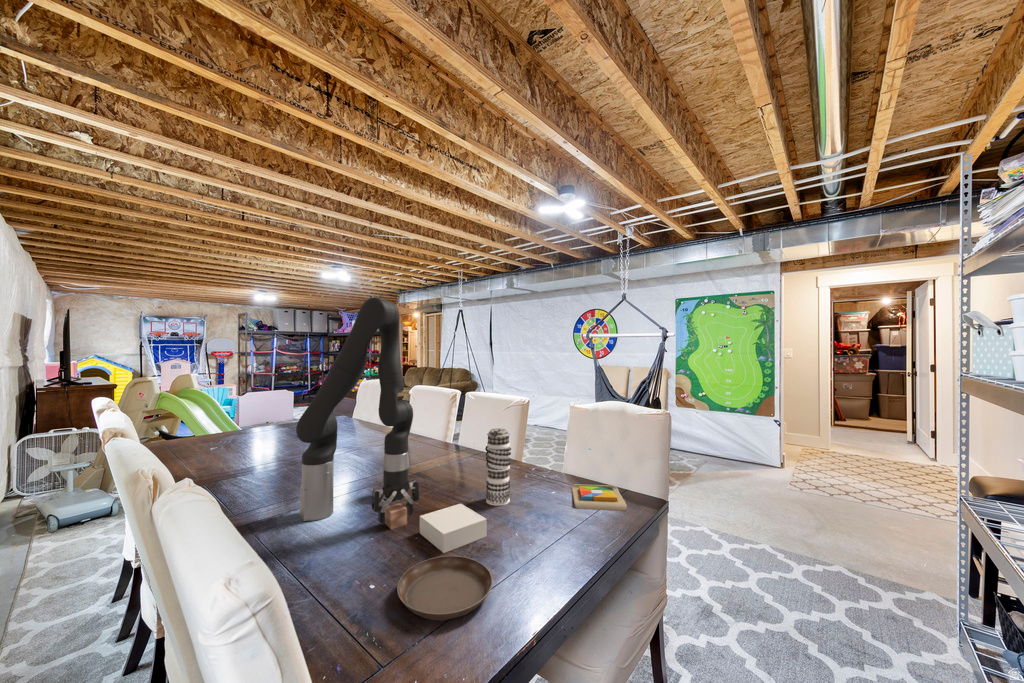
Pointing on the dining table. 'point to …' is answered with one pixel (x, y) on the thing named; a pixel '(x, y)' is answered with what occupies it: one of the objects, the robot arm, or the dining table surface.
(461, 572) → the plant saucer
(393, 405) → the robot arm
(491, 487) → the decorative candle
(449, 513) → the off-white plinth
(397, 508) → the terracotta cube
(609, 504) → the wooden puzzle
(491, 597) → the dining table surface
